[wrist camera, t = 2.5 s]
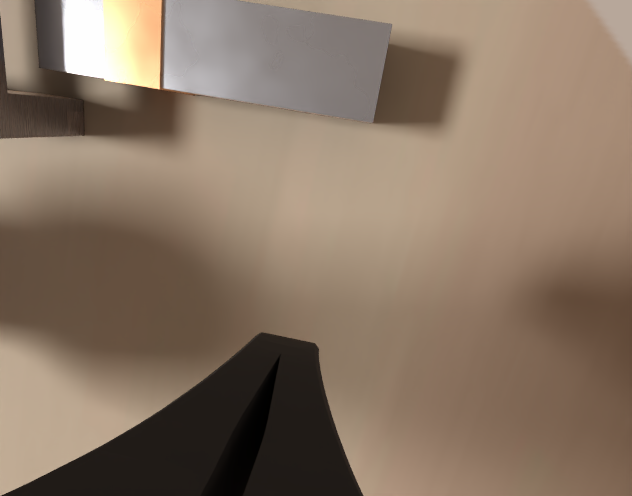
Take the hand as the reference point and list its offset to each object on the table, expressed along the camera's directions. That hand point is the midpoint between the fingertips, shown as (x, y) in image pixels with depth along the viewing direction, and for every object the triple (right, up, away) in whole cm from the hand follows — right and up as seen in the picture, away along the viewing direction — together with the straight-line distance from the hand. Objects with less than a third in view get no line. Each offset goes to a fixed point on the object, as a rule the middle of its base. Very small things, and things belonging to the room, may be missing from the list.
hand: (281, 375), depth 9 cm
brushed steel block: (-3, +11, +7) cm, 13 cm away
